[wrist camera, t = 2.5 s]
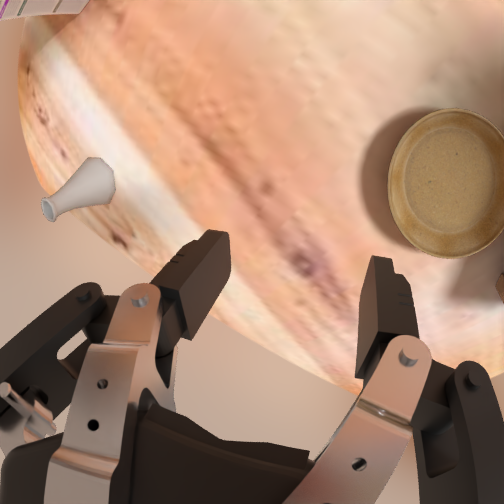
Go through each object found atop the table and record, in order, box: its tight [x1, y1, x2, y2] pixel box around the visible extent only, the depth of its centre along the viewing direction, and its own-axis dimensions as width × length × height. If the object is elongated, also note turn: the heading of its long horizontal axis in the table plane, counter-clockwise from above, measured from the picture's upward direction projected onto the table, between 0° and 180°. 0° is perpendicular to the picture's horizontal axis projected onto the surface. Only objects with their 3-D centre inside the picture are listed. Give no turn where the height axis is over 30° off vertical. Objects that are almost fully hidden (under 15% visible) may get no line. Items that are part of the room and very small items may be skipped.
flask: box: [41, 157, 116, 222], centre depth 30 cm, size 7×7×10 cm
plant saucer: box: [387, 108, 504, 259], centre depth 20 cm, size 15×15×3 cm
